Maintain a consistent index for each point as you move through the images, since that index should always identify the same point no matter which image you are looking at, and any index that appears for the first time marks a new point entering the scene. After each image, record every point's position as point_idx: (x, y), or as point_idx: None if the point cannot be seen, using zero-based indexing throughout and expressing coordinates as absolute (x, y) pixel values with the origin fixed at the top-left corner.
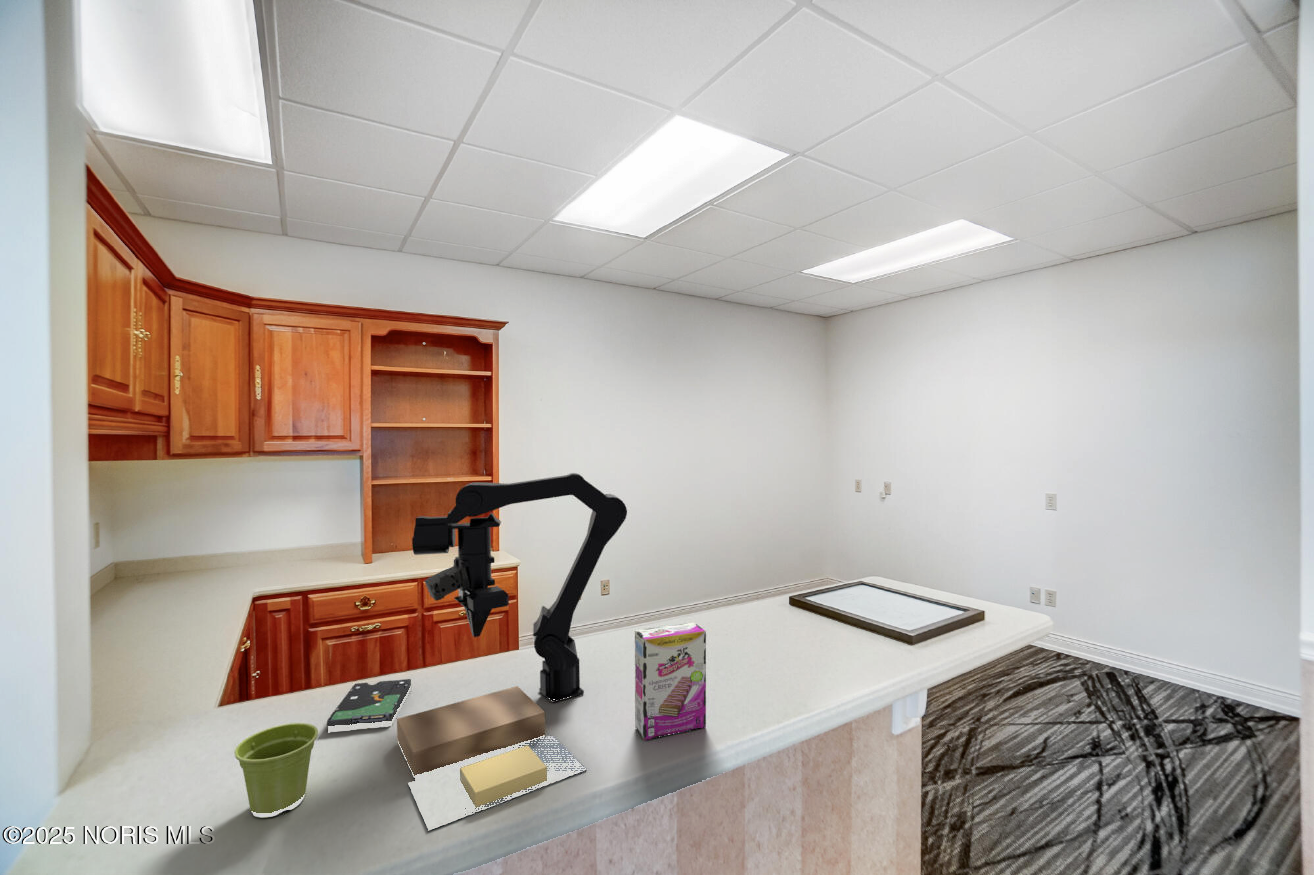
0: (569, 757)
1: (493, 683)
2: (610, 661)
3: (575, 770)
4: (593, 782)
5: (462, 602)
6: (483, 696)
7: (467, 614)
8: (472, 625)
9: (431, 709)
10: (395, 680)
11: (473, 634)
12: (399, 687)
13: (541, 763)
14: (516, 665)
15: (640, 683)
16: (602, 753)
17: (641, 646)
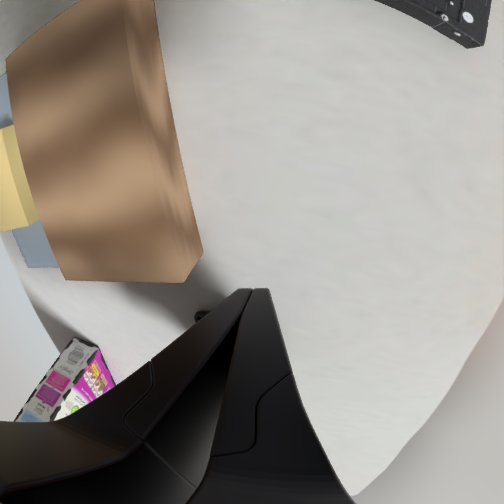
0: (43, 262)
1: (380, 244)
2: (318, 418)
3: (25, 256)
4: (17, 262)
5: (5, 502)
6: (150, 191)
7: (244, 408)
8: (177, 339)
9: (129, 49)
10: (487, 12)
11: (230, 296)
12: (445, 4)
13: (4, 228)
14: (435, 314)
15: (48, 386)
16: (54, 294)
17: (22, 420)
